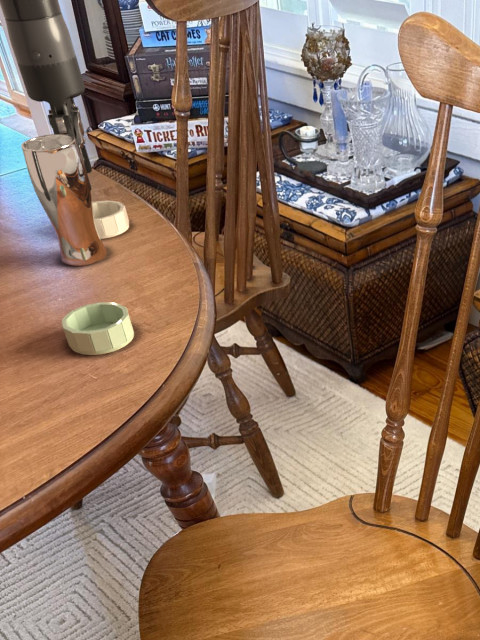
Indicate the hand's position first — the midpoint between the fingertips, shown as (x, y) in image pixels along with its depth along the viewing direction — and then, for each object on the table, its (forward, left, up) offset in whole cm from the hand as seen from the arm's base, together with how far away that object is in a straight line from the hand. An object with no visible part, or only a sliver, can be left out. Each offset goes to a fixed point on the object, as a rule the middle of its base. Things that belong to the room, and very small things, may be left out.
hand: (84, 182), depth 114 cm
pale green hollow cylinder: (-12, -35, -6) cm, 38 cm away
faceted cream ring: (0, -3, -6) cm, 7 cm away
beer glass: (-6, -11, -6) cm, 14 cm away
